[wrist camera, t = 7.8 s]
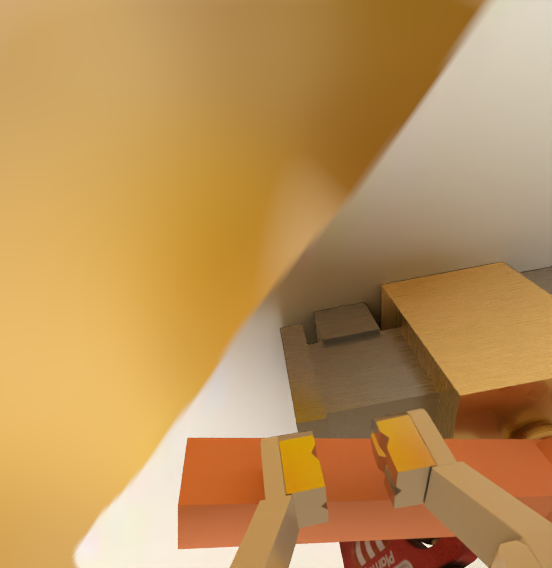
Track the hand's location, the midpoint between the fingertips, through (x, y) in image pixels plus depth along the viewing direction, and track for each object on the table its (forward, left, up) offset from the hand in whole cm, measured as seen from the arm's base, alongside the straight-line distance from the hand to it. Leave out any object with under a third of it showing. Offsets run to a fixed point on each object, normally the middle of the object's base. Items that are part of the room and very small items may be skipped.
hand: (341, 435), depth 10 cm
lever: (-3, +3, -1) cm, 4 cm away
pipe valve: (-8, +5, -10) cm, 14 cm away
